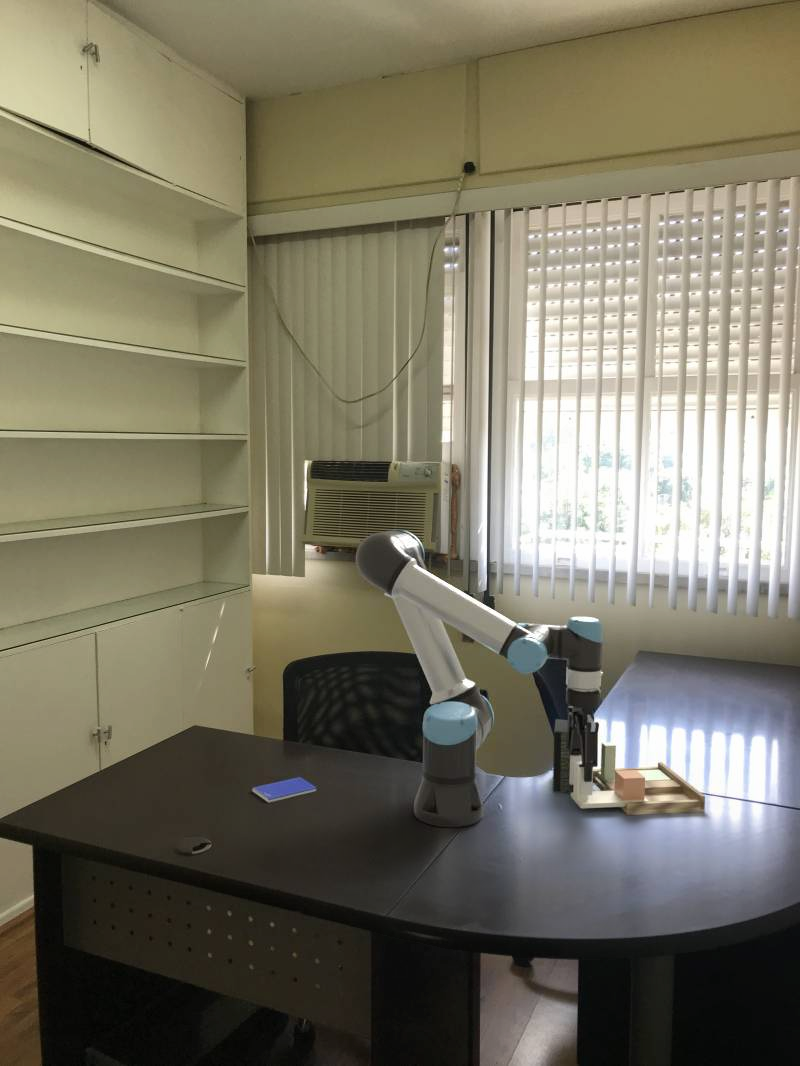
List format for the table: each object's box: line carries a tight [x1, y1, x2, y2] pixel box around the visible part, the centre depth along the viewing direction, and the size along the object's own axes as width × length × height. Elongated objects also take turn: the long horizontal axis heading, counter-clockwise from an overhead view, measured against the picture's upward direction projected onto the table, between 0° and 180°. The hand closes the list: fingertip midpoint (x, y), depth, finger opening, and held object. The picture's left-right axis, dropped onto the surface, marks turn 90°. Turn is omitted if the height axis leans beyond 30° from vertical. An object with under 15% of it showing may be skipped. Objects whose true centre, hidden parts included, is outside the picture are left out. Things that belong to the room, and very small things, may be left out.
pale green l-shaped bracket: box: [598, 741, 671, 783], centre depth 205 cm, size 16×7×9 cm, turn 98°
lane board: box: [593, 761, 706, 816], centre depth 200 cm, size 18×22×4 cm
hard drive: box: [252, 776, 317, 803], centre depth 200 cm, size 2×8×12 cm
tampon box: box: [552, 718, 581, 794], centre depth 205 cm, size 11×9×15 cm
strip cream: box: [570, 761, 649, 809], centre depth 192 cm, size 16×7×9 cm, turn 98°
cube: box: [614, 770, 645, 800], centre depth 193 cm, size 5×5×5 cm
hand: (580, 788), depth 191 cm, fingers open, 6 cm apart
